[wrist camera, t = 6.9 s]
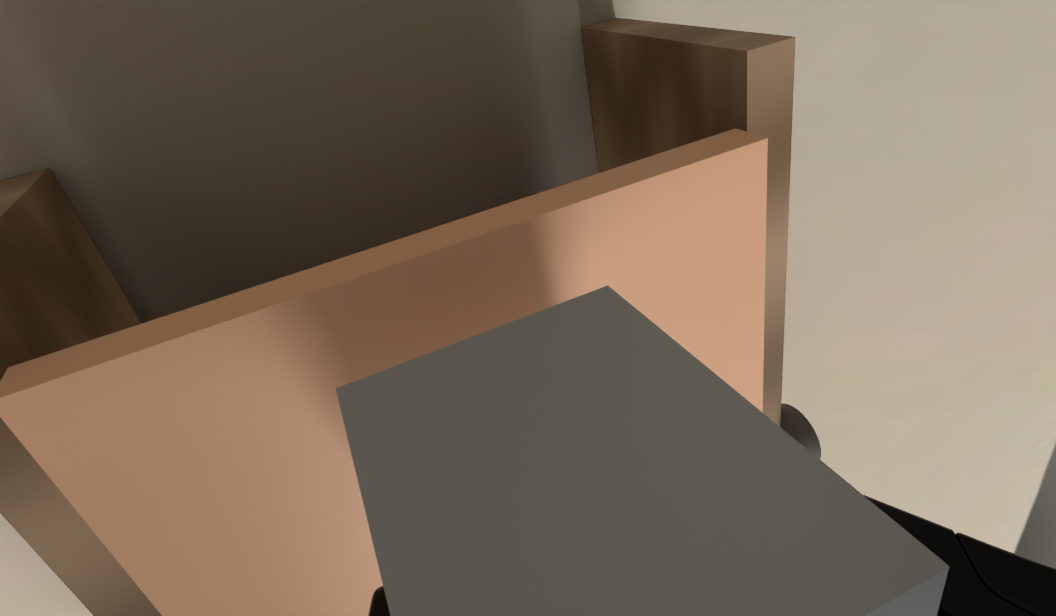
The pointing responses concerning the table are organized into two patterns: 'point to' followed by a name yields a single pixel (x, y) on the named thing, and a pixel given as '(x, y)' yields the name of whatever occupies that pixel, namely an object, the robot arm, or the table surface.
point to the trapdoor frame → (621, 137)
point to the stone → (608, 485)
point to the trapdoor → (366, 373)
